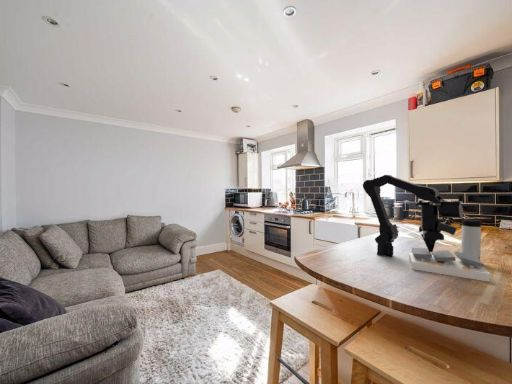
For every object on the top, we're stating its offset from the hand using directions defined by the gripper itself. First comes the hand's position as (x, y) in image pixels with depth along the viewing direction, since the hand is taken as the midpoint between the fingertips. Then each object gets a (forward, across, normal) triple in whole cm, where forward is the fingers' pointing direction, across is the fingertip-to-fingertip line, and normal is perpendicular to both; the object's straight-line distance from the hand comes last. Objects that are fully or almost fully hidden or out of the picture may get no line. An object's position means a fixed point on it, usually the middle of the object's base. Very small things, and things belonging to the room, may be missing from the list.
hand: (430, 251), depth 93 cm
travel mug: (+7, +16, -16) cm, 24 cm away
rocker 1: (+2, 0, +3) cm, 4 cm away
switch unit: (+6, -2, -4) cm, 8 cm away
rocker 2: (+2, 0, -4) cm, 5 cm away
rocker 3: (+2, 0, -12) cm, 12 cm away
